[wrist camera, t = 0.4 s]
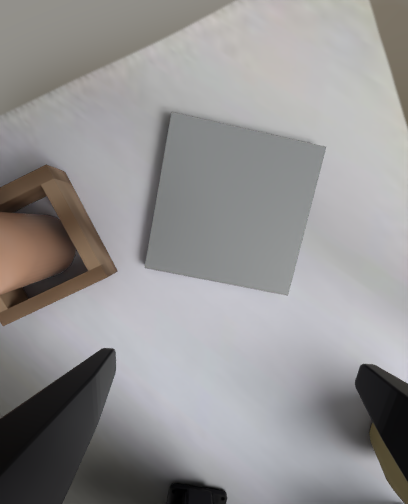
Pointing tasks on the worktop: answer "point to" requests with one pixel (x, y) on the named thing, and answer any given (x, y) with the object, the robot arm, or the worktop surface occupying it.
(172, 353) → the worktop surface
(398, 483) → the squeeze bottle
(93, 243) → the collar
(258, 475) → the worktop surface
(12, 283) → the tan piece
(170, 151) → the pad
